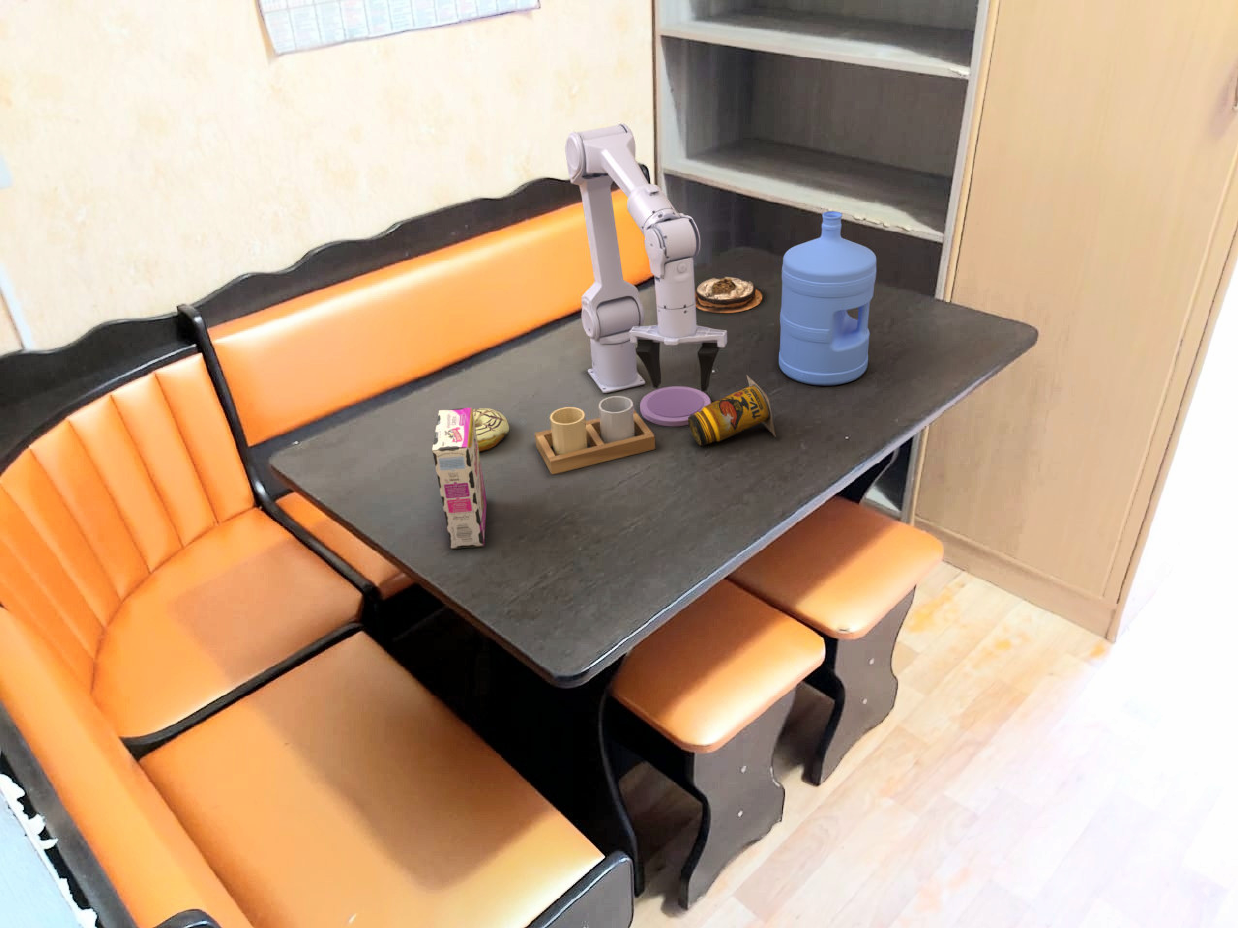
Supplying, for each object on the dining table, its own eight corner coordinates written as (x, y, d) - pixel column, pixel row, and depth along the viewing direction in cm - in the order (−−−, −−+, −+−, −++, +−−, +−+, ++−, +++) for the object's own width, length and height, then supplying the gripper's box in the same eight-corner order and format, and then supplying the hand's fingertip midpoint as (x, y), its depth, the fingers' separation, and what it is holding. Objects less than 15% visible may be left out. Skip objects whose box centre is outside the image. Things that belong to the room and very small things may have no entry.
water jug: (769, 381, 162) (773, 227, 147) (789, 343, 174) (795, 197, 159) (858, 393, 157) (873, 233, 142) (873, 353, 169) (888, 202, 154)
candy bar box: (486, 547, 128) (468, 447, 119) (450, 550, 128) (429, 451, 119) (489, 500, 137) (472, 405, 128) (455, 504, 137) (436, 408, 128)
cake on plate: (735, 319, 185) (736, 299, 183) (676, 303, 194) (675, 284, 191) (775, 293, 194) (775, 275, 192) (716, 280, 203) (716, 262, 200)
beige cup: (550, 449, 148) (545, 411, 144) (582, 441, 150) (578, 404, 146) (560, 465, 144) (555, 427, 140) (592, 457, 145) (589, 419, 141)
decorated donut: (522, 435, 152) (519, 416, 150) (472, 464, 146) (468, 444, 144) (481, 416, 159) (478, 397, 156) (431, 443, 152) (427, 423, 150)
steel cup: (597, 437, 150) (594, 400, 146) (628, 430, 152) (625, 393, 148) (608, 454, 146) (605, 416, 142) (640, 446, 147) (637, 408, 143)
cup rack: (536, 446, 149) (534, 433, 148) (635, 422, 154) (634, 409, 152) (551, 475, 142) (550, 461, 141) (655, 449, 146) (654, 435, 145)
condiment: (768, 395, 142) (698, 426, 140) (776, 437, 147) (709, 467, 145) (747, 373, 147) (680, 403, 146) (756, 415, 152) (691, 444, 151)
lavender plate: (630, 400, 160) (629, 394, 159) (693, 385, 163) (693, 379, 162) (655, 432, 150) (655, 426, 150) (722, 416, 153) (722, 410, 153)
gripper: (620, 310, 133) (628, 395, 140) (717, 314, 129) (721, 401, 136) (635, 293, 139) (642, 375, 146) (729, 296, 134) (731, 381, 141)
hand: (681, 386), depth 141 cm, fingers open, 7 cm apart
